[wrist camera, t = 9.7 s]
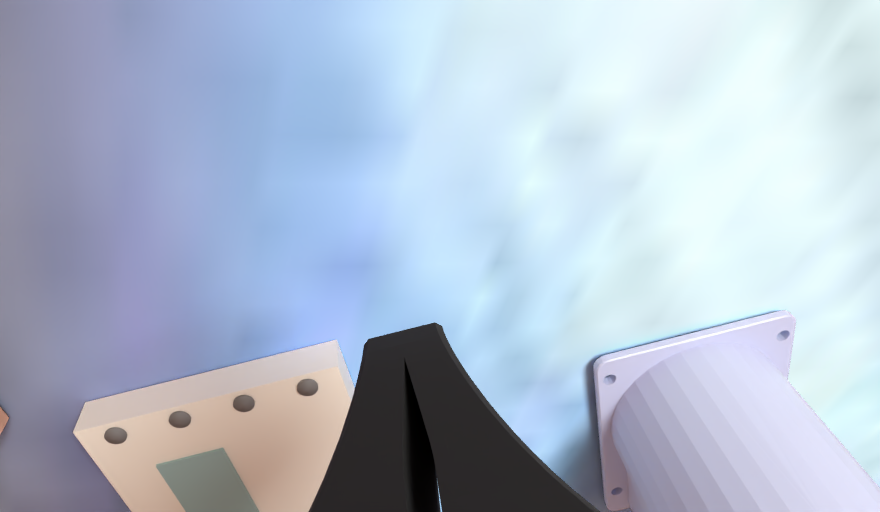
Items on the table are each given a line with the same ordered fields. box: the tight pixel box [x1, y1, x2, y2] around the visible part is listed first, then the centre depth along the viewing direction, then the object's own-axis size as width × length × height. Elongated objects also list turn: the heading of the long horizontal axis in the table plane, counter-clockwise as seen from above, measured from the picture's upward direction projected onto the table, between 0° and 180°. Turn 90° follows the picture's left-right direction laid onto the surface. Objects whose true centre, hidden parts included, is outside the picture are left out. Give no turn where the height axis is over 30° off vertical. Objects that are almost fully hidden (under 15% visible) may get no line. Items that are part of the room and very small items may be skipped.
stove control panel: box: [73, 340, 355, 512], centre depth 25 cm, size 12×9×3 cm
